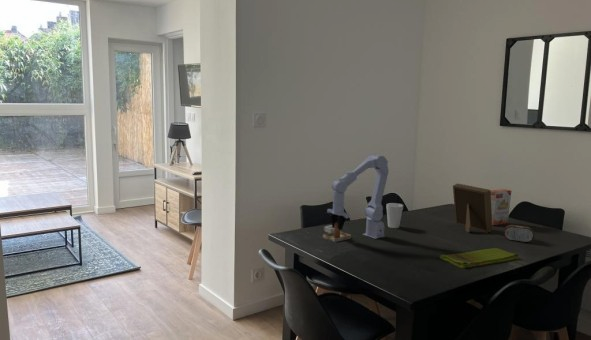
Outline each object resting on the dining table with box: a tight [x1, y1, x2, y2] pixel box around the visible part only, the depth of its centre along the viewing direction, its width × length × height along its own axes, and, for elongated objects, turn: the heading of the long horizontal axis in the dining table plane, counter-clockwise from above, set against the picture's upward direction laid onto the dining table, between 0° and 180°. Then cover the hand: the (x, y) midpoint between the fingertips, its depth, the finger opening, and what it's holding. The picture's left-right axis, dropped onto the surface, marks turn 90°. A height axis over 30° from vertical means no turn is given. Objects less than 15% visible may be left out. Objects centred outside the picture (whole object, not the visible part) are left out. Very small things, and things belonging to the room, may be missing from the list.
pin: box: [334, 221, 341, 238], centre depth 249 cm, size 3×3×8 cm
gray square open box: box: [323, 224, 342, 233], centre depth 260 cm, size 6×6×3 cm
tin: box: [503, 224, 536, 243], centre depth 253 cm, size 15×3×8 cm, turn 65°
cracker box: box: [489, 188, 512, 227], centre depth 287 cm, size 14×6×21 cm, turn 120°
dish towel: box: [439, 247, 519, 269], centre depth 224 cm, size 15×36×3 cm, turn 115°
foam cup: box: [385, 202, 404, 229], centre depth 274 cm, size 10×9×13 cm
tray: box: [322, 231, 353, 243], centre depth 249 cm, size 10×12×2 cm
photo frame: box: [452, 183, 493, 234], centre depth 273 cm, size 15×22×25 cm
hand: (337, 228), depth 248 cm, fingers open, 4 cm apart
